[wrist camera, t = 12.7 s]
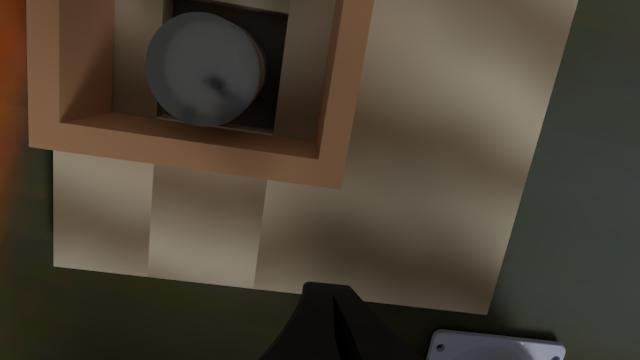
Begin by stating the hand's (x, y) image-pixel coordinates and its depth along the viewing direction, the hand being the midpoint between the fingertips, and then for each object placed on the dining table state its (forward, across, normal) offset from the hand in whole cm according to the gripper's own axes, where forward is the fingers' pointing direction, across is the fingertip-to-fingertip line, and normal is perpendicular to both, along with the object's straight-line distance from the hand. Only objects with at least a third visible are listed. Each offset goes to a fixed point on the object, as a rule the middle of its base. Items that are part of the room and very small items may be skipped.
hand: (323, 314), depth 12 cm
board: (+10, +1, -4) cm, 11 cm away
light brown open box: (+8, +5, -7) cm, 12 cm away
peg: (+10, +5, -6) cm, 12 cm away
